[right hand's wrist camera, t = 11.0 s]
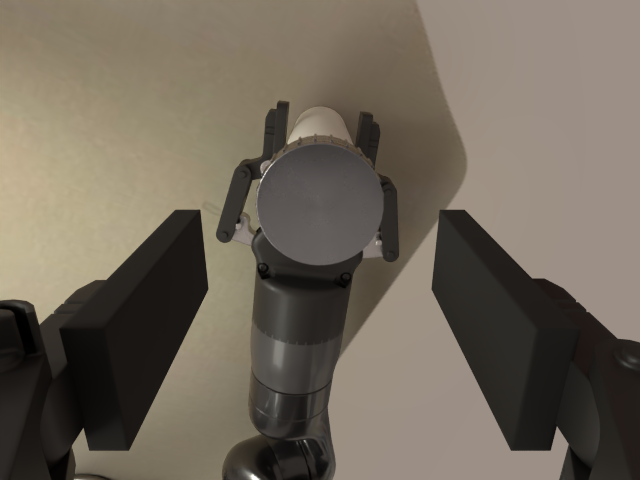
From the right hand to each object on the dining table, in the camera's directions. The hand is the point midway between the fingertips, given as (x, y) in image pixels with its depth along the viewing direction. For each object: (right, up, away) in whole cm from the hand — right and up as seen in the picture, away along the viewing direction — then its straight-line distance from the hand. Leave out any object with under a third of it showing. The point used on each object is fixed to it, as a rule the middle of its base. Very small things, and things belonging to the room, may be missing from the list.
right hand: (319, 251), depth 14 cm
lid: (0, +2, +5) cm, 5 cm away
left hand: (0, +9, +16) cm, 19 cm away
